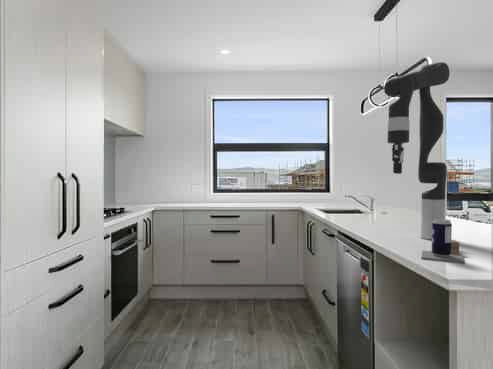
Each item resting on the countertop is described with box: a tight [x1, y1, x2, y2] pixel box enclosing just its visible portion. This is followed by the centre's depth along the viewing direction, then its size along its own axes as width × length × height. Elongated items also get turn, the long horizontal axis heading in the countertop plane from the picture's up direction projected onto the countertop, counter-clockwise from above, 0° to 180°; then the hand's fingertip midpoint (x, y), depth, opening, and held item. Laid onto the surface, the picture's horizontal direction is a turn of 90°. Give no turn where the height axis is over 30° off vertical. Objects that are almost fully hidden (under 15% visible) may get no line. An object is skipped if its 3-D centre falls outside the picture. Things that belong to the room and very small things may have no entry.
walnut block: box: [451, 239, 460, 254], centre depth 125 cm, size 4×4×4 cm
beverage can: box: [431, 218, 453, 257], centre depth 118 cm, size 6×6×12 cm
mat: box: [420, 250, 465, 264], centre depth 118 cm, size 12×12×1 cm
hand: (397, 173), depth 133 cm, fingers open, 8 cm apart
